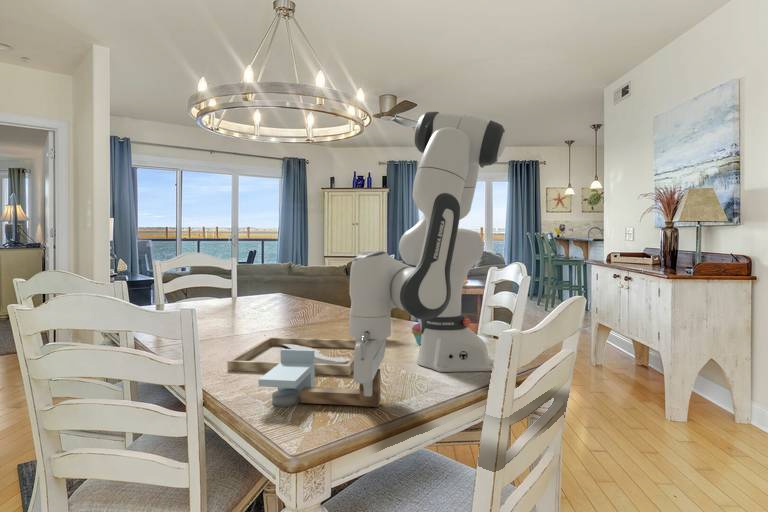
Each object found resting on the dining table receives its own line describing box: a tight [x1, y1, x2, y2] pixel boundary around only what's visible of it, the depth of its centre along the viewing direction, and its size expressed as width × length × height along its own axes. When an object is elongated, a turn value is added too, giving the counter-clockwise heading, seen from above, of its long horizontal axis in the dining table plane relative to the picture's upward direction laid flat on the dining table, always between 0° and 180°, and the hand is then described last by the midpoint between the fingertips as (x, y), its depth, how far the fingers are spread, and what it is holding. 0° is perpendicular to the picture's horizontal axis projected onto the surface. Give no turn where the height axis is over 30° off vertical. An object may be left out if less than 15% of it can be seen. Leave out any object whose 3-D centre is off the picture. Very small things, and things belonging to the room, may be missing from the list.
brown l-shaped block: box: [300, 368, 381, 408], centre depth 97 cm, size 17×4×7 cm, turn 83°
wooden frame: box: [226, 336, 356, 376], centre depth 135 cm, size 34×30×2 cm
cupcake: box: [411, 319, 422, 345], centre depth 154 cm, size 9×8×12 cm
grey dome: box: [271, 389, 301, 408], centre depth 99 cm, size 6×6×2 cm
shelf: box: [258, 348, 316, 394], centre depth 100 cm, size 8×14×10 cm, turn 173°
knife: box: [280, 343, 351, 365], centre depth 137 cm, size 37×8×2 cm, turn 38°
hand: (370, 391), depth 96 cm, fingers closed on brown l-shaped block, 3 cm apart
